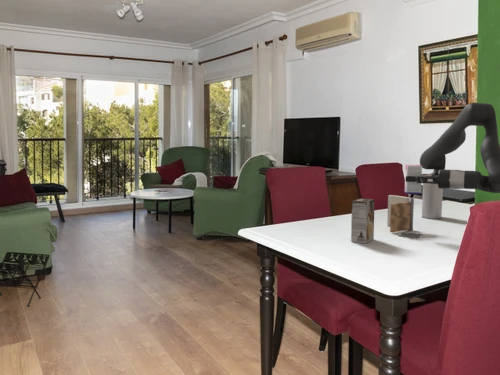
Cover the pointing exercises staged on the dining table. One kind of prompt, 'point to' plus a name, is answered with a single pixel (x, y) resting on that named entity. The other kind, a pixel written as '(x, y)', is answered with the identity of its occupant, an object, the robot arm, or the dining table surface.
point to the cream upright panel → (400, 199)
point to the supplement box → (413, 186)
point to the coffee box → (362, 220)
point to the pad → (410, 235)
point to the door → (400, 217)
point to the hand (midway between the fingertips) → (407, 178)
